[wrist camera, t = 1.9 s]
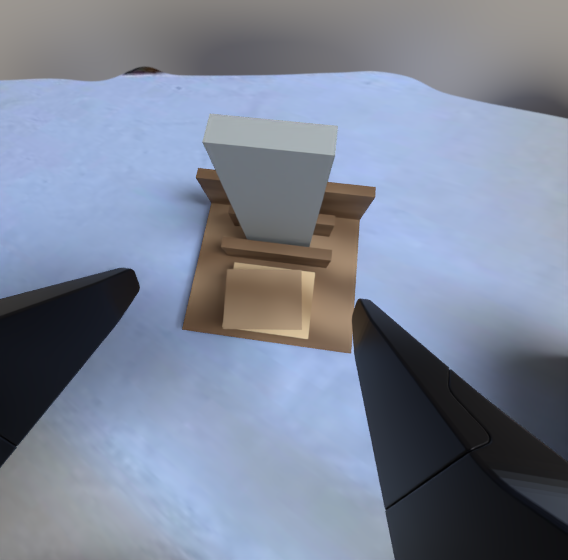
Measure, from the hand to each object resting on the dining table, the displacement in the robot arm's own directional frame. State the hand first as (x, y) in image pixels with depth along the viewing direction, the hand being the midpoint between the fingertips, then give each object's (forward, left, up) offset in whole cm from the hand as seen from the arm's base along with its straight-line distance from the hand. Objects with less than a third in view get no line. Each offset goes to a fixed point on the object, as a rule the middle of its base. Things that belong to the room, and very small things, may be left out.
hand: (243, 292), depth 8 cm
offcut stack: (+1, +1, -12) cm, 12 cm away
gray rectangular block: (+4, +6, -12) cm, 14 cm away
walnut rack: (+3, +4, -13) cm, 14 cm away
